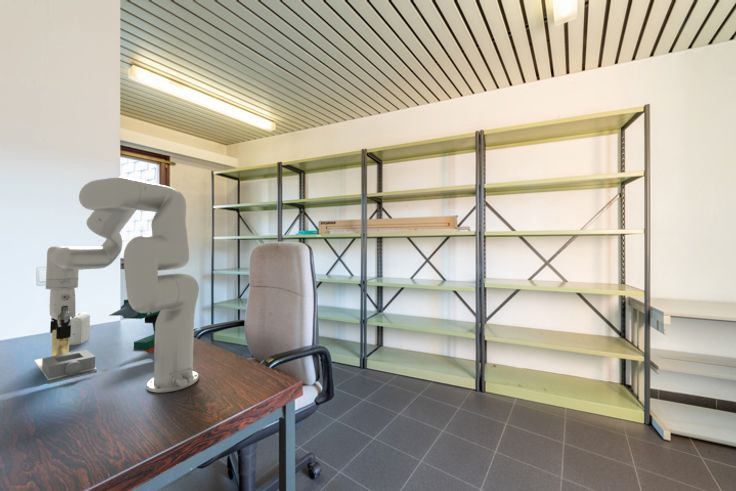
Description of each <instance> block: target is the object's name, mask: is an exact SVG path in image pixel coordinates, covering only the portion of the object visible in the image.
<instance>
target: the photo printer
mask: <svg viewBox="0 0 736 491" xmlns="http://www.w3.org/2000/svg"><path fill="white" fill-rule="evenodd" d="M70 321H71V336H70V339H69V346H75V345H81V344H84V343H85V342H87V341H89V340H90V334H91V333H90V330H91V329H90V328H91V327H90V326H91V316H90V313H88V312H87V311H80V312H77V313H76V316H75V317H74V318H72V317H70Z"/></svg>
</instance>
